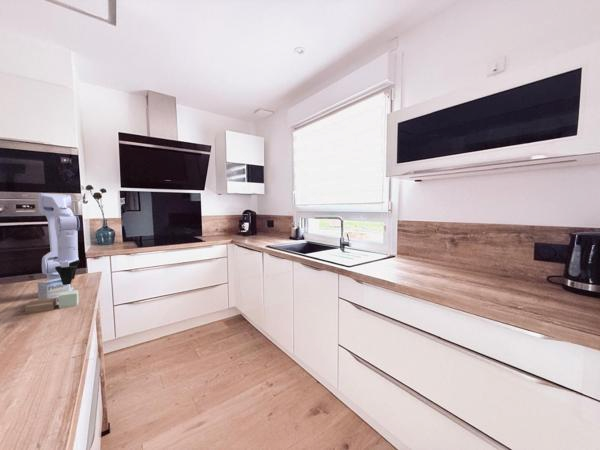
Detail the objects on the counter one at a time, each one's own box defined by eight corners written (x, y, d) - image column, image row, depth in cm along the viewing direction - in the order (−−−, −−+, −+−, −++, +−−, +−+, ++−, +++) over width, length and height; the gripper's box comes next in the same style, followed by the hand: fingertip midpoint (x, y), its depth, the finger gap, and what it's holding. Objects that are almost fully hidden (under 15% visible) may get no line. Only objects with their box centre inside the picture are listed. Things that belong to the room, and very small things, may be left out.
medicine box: (46, 305, 94) (46, 283, 94) (38, 303, 95) (37, 282, 95) (69, 297, 102) (69, 277, 102) (61, 296, 103) (60, 276, 103)
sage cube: (61, 304, 96) (61, 291, 95) (78, 301, 99) (78, 289, 98) (59, 308, 92) (58, 295, 91) (76, 305, 95) (76, 293, 94)
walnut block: (30, 308, 91) (30, 300, 91) (56, 304, 96) (56, 297, 95) (25, 315, 86) (24, 307, 86) (53, 311, 90) (52, 303, 90)
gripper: (57, 245, 97) (58, 278, 98) (48, 250, 86) (49, 288, 86) (80, 244, 101) (81, 276, 102) (75, 249, 90) (76, 285, 91)
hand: (68, 281), depth 95 cm, fingers open, 7 cm apart
